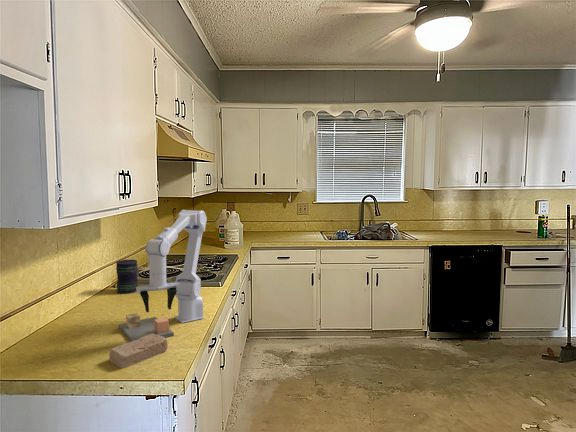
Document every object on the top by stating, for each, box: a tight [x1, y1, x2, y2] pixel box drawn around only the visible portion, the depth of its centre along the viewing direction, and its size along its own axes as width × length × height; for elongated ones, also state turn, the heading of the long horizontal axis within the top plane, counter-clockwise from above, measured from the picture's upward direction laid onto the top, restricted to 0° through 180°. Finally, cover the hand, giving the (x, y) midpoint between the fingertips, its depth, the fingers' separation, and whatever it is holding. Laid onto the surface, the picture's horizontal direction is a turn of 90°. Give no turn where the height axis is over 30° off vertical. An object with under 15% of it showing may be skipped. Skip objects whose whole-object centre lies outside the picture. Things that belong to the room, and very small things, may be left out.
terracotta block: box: [154, 317, 170, 334], centre depth 151 cm, size 4×4×4 cm
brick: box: [108, 334, 168, 369], centre depth 133 cm, size 17×8×5 cm, turn 143°
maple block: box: [125, 312, 141, 329], centre depth 156 cm, size 4×4×4 cm
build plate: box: [118, 316, 175, 342], centre depth 154 cm, size 14×20×1 cm
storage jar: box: [115, 259, 139, 295], centre depth 205 cm, size 10×10×15 cm
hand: (158, 310), depth 149 cm, fingers open, 7 cm apart
